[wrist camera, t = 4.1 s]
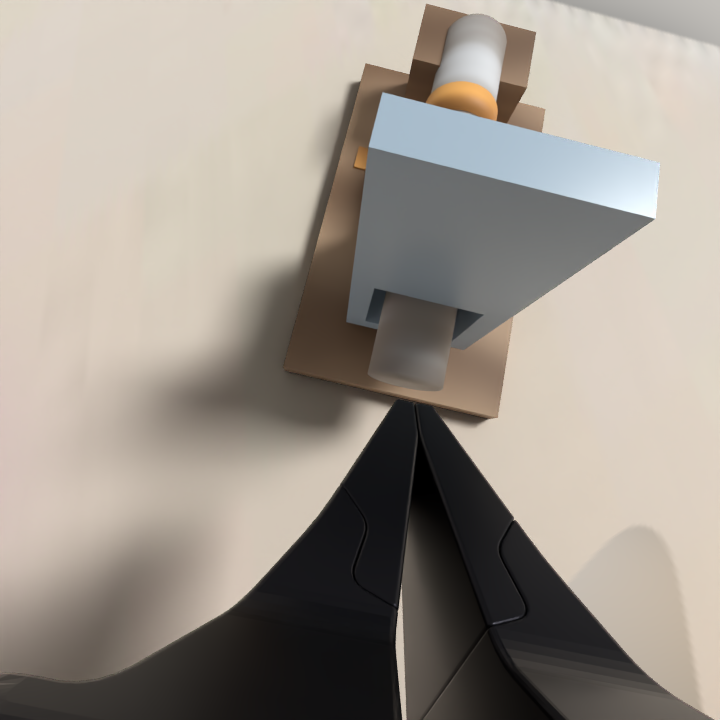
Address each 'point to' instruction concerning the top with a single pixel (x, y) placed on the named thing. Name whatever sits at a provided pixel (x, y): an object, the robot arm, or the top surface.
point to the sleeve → (485, 213)
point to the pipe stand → (340, 224)
